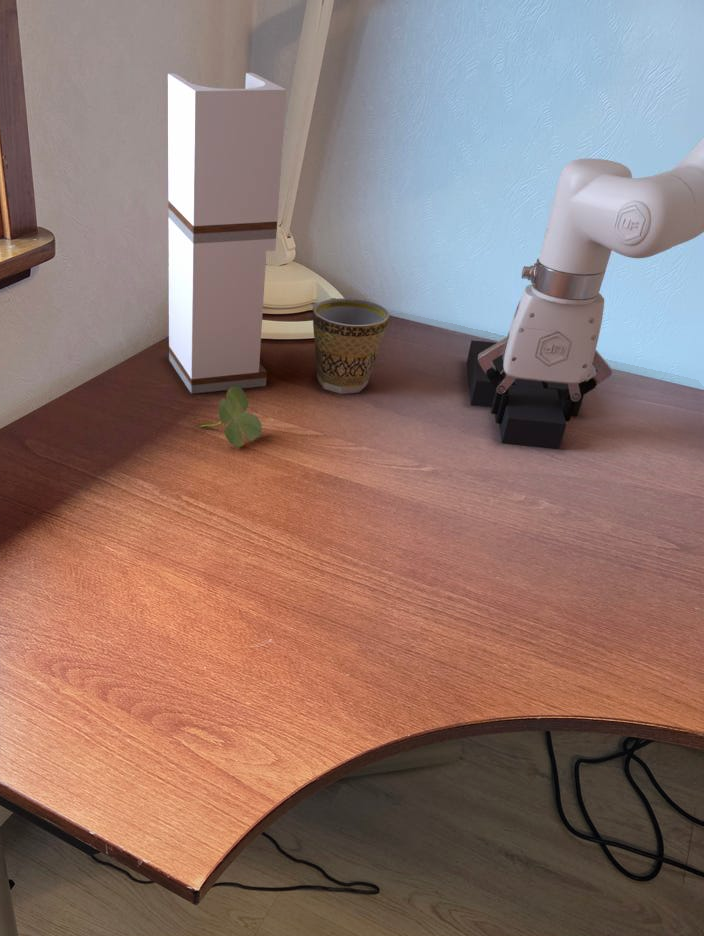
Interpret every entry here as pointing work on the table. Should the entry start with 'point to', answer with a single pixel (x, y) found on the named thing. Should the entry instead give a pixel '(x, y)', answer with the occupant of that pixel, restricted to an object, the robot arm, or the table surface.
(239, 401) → the green clover leaf
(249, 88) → the tall square vase
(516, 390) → the pad
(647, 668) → the table surface
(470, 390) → the notch pad
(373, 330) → the ceramic cup
